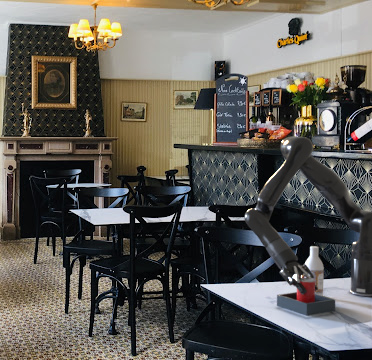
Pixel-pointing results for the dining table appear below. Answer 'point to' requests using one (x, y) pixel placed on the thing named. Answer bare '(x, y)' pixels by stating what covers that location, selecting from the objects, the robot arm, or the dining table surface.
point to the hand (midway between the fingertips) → (310, 291)
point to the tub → (306, 304)
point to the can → (310, 293)
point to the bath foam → (316, 269)
